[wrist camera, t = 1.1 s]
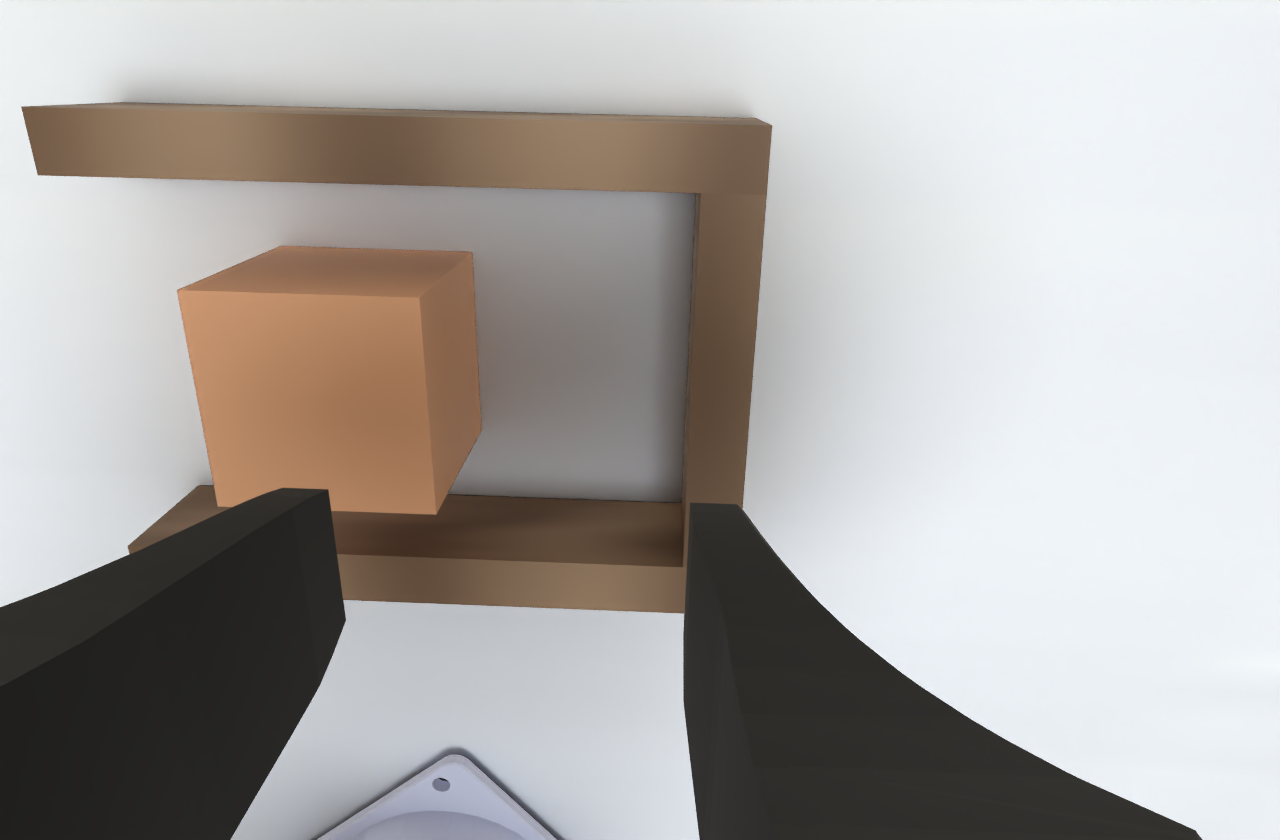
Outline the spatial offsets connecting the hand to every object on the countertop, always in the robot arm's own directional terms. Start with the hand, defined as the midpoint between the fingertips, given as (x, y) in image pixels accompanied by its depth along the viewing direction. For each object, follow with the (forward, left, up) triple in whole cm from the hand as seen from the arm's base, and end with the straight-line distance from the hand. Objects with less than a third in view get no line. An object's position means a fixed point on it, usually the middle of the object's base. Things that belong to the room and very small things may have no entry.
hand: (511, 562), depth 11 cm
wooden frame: (-2, +2, -9) cm, 10 cm away
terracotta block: (-4, +3, -10) cm, 11 cm away
